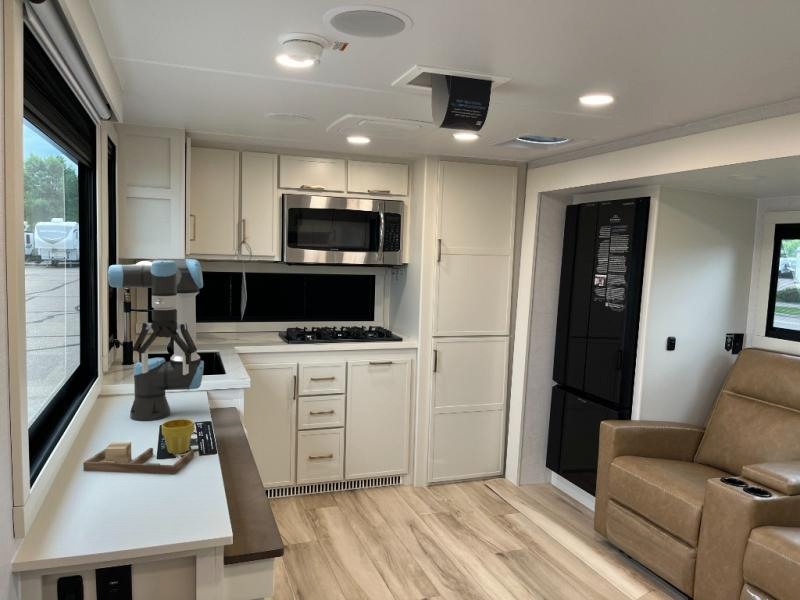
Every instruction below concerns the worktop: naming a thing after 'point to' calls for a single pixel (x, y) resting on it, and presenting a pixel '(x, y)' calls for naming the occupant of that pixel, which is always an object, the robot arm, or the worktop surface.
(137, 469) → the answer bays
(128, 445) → the oak block
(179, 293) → the robot arm
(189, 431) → the plant pot
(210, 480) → the worktop surface
